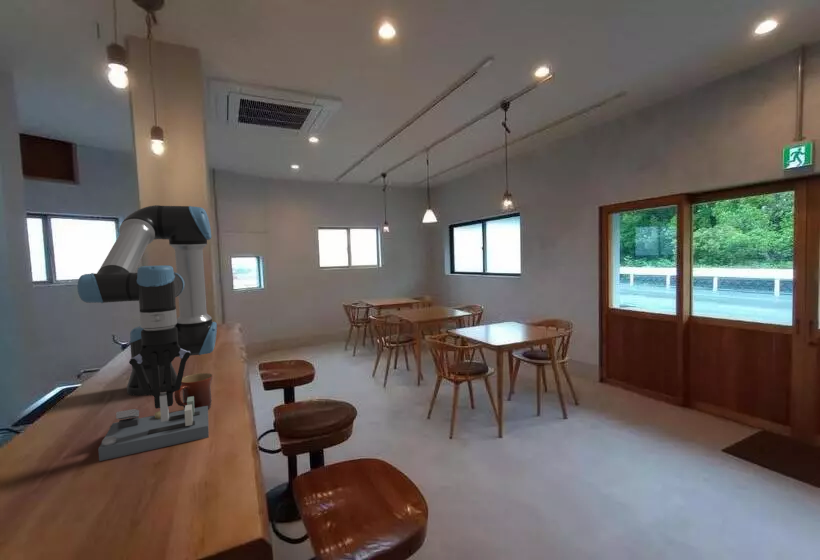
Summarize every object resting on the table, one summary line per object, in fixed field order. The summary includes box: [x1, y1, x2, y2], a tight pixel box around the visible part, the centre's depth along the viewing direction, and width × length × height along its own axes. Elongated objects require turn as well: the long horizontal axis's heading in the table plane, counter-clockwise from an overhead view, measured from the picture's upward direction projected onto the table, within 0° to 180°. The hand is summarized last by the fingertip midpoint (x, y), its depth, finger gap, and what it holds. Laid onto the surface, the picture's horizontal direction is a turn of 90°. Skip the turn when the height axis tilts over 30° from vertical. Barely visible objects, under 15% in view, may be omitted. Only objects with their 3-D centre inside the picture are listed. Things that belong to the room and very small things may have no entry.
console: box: [97, 406, 210, 462], centre depth 96 cm, size 15×22×4 cm
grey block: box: [187, 396, 195, 415], centre depth 101 cm, size 4×2×4 cm, turn 29°
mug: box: [173, 372, 213, 411], centre depth 110 cm, size 12×9×10 cm
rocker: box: [115, 408, 140, 420], centre depth 96 cm, size 8×4×2 cm, turn 29°
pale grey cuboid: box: [185, 404, 193, 426], centre depth 96 cm, size 4×2×4 cm, turn 29°
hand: (165, 419), depth 94 cm, fingers closed
